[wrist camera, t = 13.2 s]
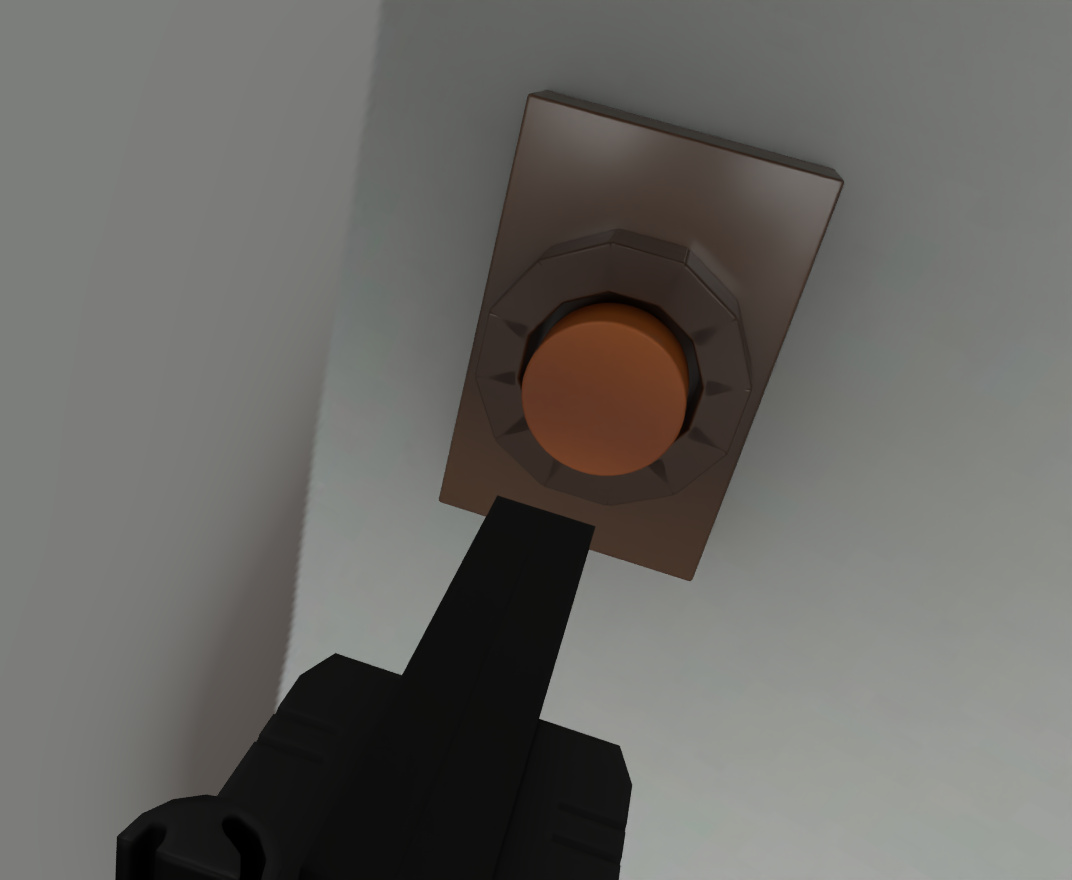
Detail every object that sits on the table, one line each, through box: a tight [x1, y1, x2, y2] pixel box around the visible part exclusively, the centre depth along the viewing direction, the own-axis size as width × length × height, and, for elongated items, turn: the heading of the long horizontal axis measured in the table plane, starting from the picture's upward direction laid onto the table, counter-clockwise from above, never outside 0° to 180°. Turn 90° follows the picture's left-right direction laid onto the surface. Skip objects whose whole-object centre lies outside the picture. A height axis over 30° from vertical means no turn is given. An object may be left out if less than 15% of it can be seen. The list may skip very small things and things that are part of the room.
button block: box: [439, 90, 844, 581], centre depth 25 cm, size 12×8×4 cm, turn 166°
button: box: [521, 303, 689, 476], centre depth 22 cm, size 4×4×2 cm
